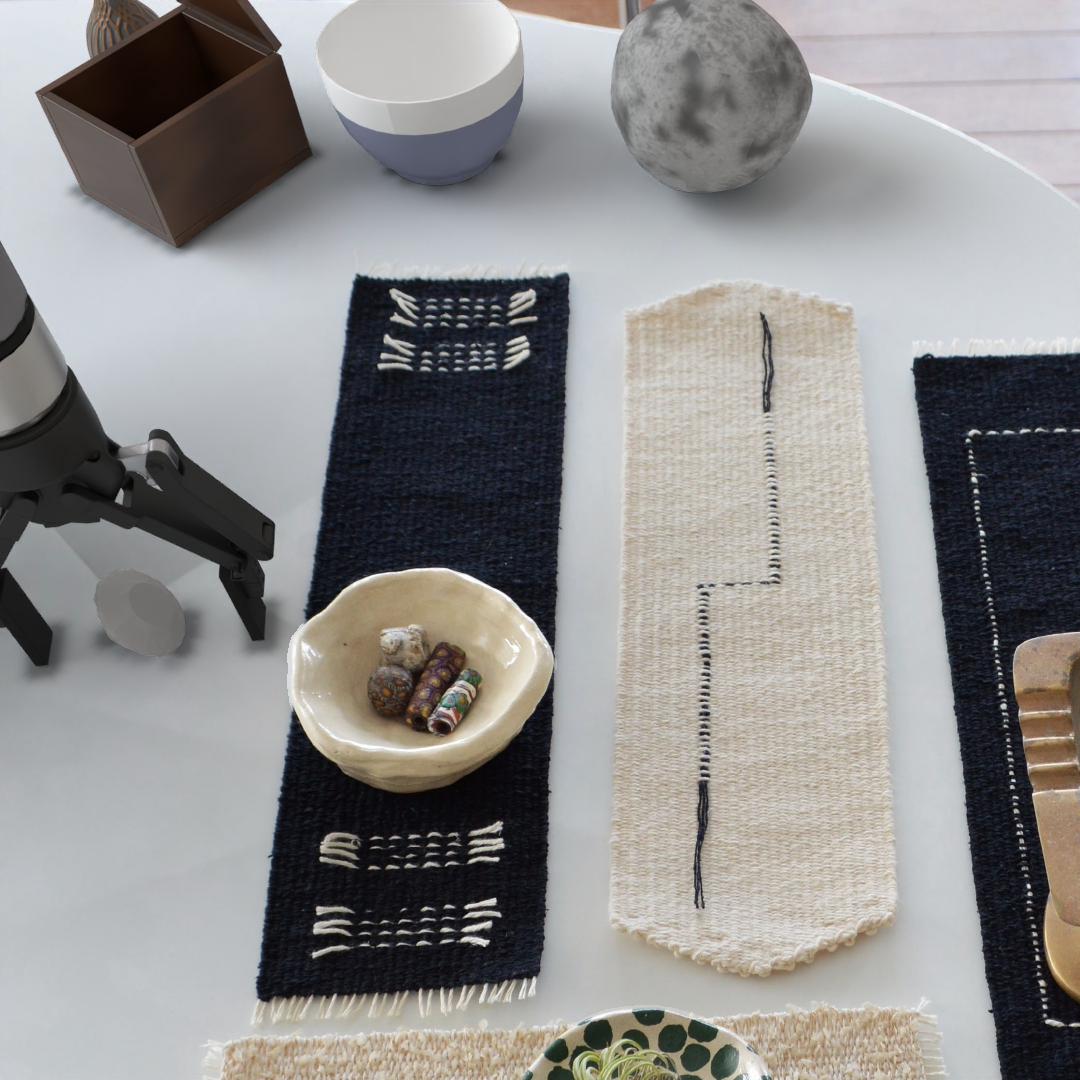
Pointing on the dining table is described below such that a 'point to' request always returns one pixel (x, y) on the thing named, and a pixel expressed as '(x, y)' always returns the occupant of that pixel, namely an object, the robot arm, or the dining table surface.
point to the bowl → (425, 82)
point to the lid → (237, 19)
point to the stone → (708, 92)
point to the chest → (177, 123)
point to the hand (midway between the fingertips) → (153, 637)
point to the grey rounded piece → (139, 613)
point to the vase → (115, 22)
